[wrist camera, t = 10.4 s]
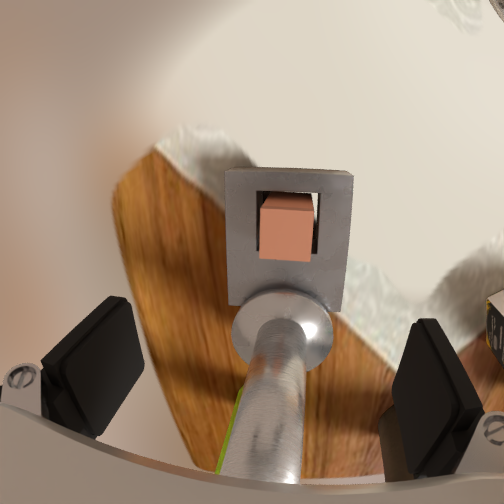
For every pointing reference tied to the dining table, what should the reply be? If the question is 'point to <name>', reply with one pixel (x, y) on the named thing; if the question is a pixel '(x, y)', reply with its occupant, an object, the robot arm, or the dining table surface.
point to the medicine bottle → (495, 325)
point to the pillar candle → (392, 448)
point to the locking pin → (286, 226)
